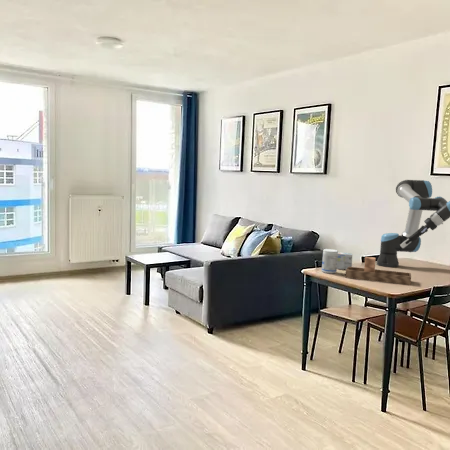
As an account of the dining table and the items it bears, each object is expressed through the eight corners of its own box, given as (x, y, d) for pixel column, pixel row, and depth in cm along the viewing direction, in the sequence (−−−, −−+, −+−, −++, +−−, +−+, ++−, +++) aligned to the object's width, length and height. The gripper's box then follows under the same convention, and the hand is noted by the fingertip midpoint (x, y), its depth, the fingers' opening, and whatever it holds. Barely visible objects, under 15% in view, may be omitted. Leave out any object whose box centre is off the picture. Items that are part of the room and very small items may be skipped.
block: (374, 273, 301) (375, 257, 300) (373, 275, 295) (375, 259, 294) (364, 272, 303) (365, 256, 302) (363, 273, 297) (365, 258, 296)
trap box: (410, 280, 297) (410, 273, 296) (410, 284, 285) (411, 276, 285) (347, 274, 310) (348, 266, 309) (345, 277, 298) (346, 269, 298)
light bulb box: (350, 268, 330) (351, 252, 329) (351, 270, 323) (352, 254, 322) (334, 267, 331) (335, 252, 330) (335, 269, 324) (336, 253, 323)
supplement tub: (319, 270, 317) (321, 248, 316) (333, 270, 318) (335, 249, 317) (324, 273, 308) (325, 251, 306) (338, 274, 309) (340, 251, 307)
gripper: (438, 227, 277) (405, 253, 284) (437, 225, 289) (405, 249, 296) (429, 217, 278) (397, 243, 286) (428, 216, 290) (397, 240, 298)
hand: (401, 246), depth 291 cm, fingers closed
